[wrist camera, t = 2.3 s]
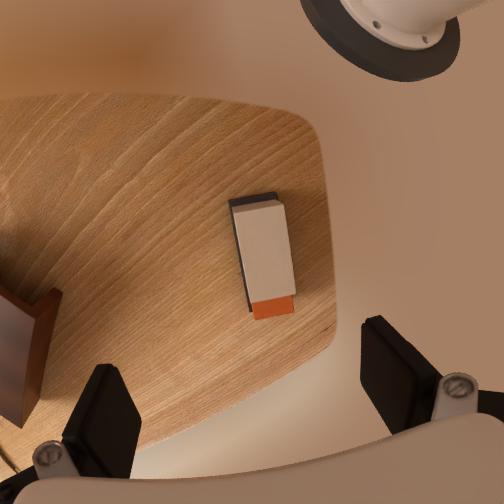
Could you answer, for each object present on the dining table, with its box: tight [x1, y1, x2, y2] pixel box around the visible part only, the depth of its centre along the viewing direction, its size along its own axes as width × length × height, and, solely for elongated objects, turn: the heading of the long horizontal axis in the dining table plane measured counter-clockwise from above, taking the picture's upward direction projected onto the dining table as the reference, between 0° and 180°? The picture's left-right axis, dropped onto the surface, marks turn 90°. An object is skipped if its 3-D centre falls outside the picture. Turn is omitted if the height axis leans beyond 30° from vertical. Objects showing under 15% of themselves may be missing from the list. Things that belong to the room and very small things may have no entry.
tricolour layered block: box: [228, 192, 296, 320], centre depth 26 cm, size 10×4×5 cm, turn 10°
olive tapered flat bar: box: [0, 450, 18, 474], centre depth 33 cm, size 12×2×1 cm, turn 10°
